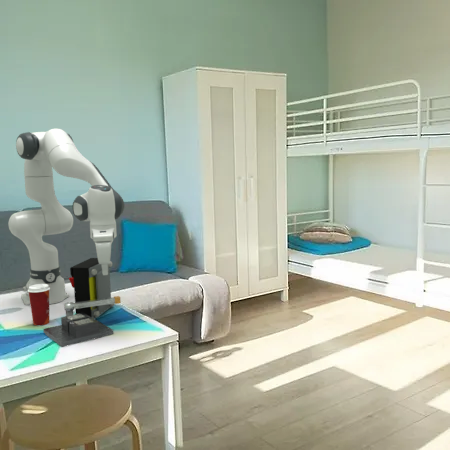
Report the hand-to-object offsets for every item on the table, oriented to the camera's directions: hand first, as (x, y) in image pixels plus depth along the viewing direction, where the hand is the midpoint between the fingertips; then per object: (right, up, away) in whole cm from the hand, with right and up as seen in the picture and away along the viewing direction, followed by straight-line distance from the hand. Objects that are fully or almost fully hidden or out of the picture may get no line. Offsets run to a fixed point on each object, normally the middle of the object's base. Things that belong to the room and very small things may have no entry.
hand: (105, 271), depth 177 cm
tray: (-9, -21, -2) cm, 23 cm away
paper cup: (-26, -20, +10) cm, 34 cm away
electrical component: (-9, -18, +21) cm, 29 cm away
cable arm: (-6, -13, +6) cm, 15 cm away
